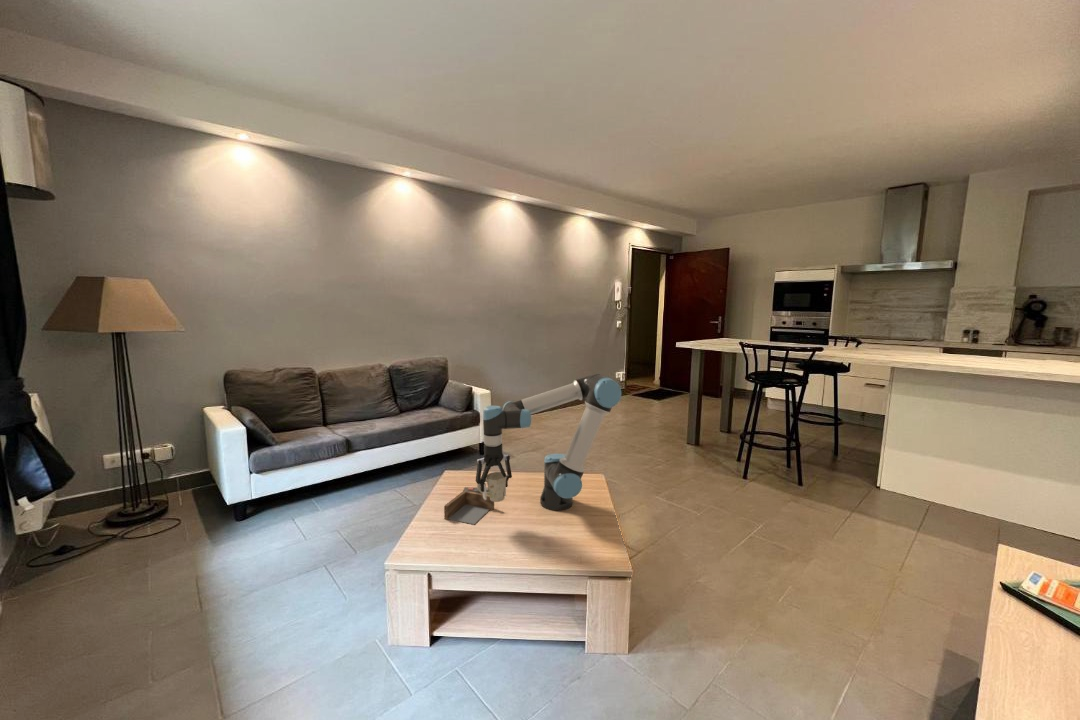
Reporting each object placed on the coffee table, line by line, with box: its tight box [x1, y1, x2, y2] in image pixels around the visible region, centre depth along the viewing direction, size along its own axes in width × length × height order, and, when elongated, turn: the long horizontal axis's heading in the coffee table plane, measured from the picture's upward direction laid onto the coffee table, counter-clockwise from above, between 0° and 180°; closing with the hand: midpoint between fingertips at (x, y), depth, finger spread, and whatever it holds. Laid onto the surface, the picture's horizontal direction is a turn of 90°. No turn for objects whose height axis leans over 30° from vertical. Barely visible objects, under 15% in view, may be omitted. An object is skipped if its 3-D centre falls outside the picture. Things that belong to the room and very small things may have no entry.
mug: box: [476, 471, 507, 503], centre depth 176 cm, size 8×13×10 cm, turn 85°
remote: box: [462, 486, 489, 495], centre depth 207 cm, size 16×4×2 cm, turn 89°
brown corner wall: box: [443, 490, 495, 521], centre depth 187 cm, size 16×16×6 cm
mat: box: [448, 504, 491, 526], centre depth 186 cm, size 13×14×1 cm
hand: (494, 496), depth 177 cm, fingers closed on mug, 8 cm apart
